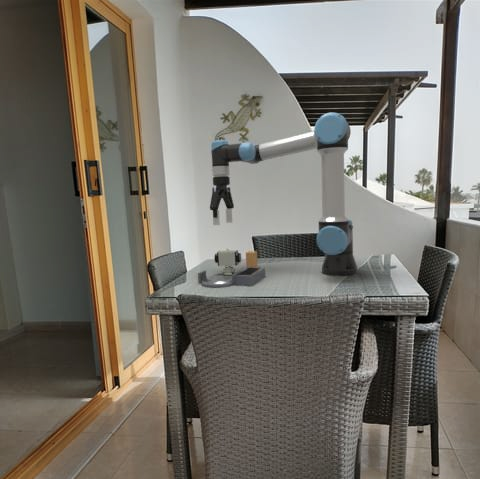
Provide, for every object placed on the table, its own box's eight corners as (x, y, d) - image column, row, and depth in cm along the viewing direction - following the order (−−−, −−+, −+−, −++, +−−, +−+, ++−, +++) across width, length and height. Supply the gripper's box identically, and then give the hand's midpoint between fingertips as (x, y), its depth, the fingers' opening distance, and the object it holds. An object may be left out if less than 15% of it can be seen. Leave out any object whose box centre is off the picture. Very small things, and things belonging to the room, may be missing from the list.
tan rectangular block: (258, 272, 165) (256, 251, 164) (255, 274, 161) (253, 252, 160) (250, 272, 167) (248, 251, 165) (246, 274, 163) (245, 252, 162)
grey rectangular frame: (265, 276, 156) (265, 267, 155) (251, 286, 140) (251, 276, 140) (247, 275, 159) (247, 267, 159) (232, 285, 144) (231, 275, 143)
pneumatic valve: (240, 275, 160) (238, 249, 159) (215, 275, 163) (213, 250, 161) (242, 273, 166) (241, 247, 164) (218, 273, 168) (217, 248, 167)
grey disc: (246, 279, 152) (245, 269, 151) (231, 288, 138) (231, 277, 138) (209, 278, 159) (208, 268, 158) (192, 286, 145) (191, 275, 145)
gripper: (225, 177, 172) (227, 221, 174) (200, 175, 149) (202, 226, 151) (239, 176, 169) (241, 221, 171) (216, 174, 146) (218, 226, 148)
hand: (223, 223), depth 161 cm, fingers open, 13 cm apart
